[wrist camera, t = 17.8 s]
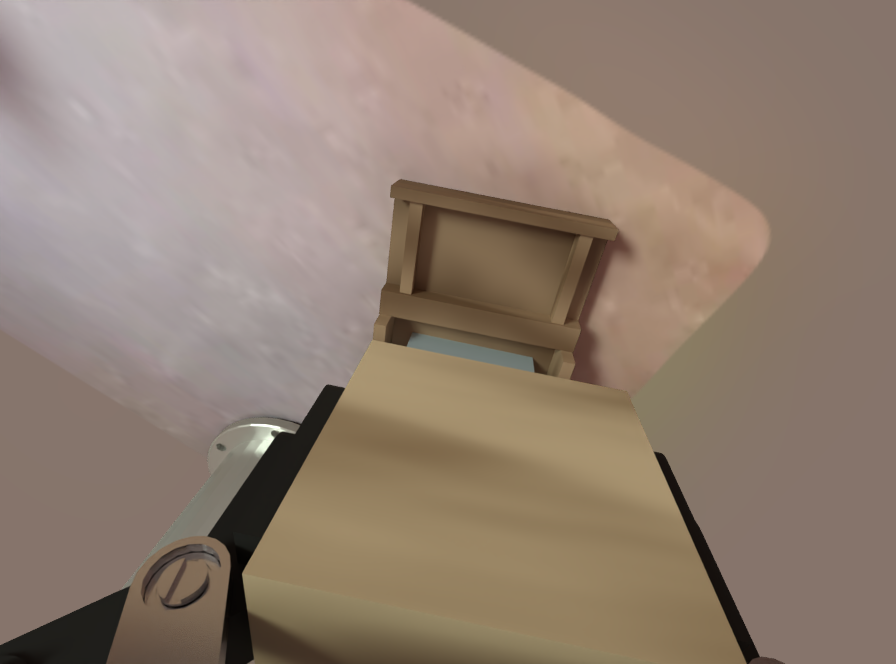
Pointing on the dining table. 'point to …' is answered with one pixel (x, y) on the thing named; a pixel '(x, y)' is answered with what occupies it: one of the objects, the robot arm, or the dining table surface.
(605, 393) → the wing block
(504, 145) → the dining table surface
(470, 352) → the block
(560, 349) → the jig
